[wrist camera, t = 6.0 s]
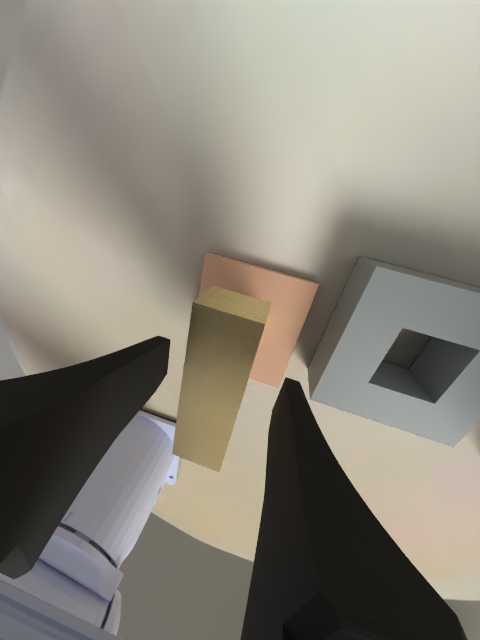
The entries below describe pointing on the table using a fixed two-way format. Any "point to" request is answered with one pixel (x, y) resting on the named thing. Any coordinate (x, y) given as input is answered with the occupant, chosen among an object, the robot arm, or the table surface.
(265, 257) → the table surface
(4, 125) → the table surface
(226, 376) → the brass rectangular peg
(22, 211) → the table surface
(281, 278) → the terracotta pad
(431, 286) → the slate socket block
